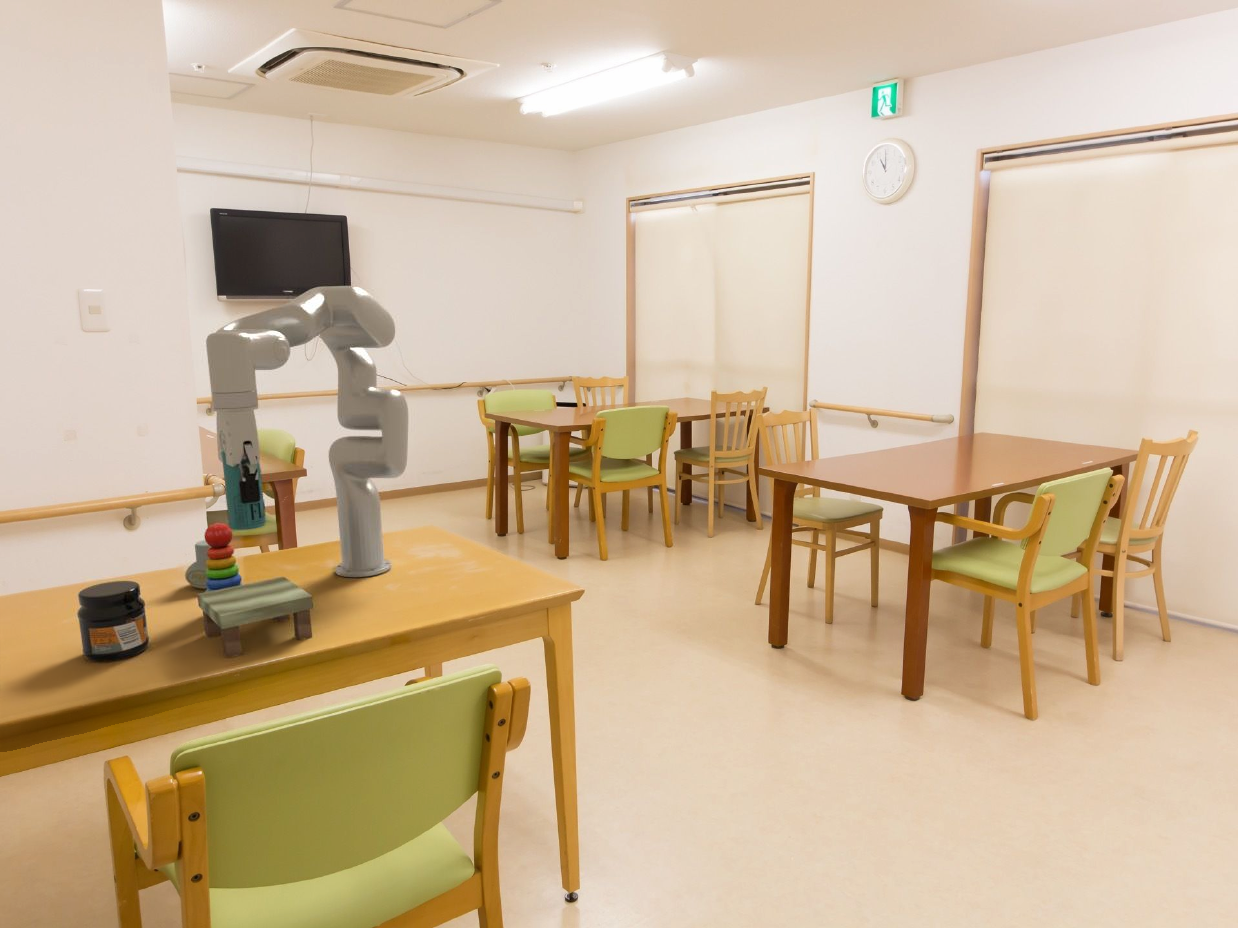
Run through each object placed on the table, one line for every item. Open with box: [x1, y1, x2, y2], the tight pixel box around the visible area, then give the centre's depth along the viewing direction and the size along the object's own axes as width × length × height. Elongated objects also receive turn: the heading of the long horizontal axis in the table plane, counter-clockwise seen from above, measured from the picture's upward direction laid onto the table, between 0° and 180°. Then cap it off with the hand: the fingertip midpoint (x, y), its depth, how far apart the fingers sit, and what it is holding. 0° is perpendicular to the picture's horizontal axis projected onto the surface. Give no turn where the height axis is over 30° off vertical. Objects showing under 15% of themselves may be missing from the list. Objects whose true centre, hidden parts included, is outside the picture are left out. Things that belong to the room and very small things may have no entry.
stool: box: [197, 576, 314, 659], centre depth 163 cm, size 16×16×8 cm
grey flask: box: [184, 539, 240, 590], centre depth 194 cm, size 11×8×10 cm
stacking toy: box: [204, 522, 244, 592], centre depth 175 cm, size 8×8×19 cm
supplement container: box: [76, 580, 150, 662], centre depth 156 cm, size 10×10×12 cm
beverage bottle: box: [221, 451, 267, 531], centre depth 159 cm, size 6×7×20 cm
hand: (244, 498), depth 159 cm, fingers closed on beverage bottle, 6 cm apart
